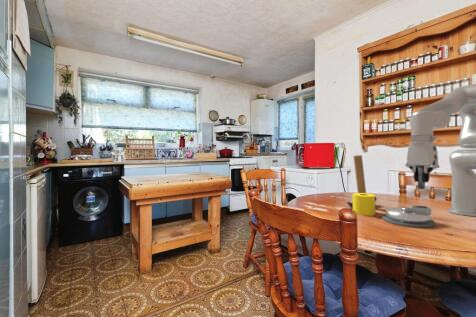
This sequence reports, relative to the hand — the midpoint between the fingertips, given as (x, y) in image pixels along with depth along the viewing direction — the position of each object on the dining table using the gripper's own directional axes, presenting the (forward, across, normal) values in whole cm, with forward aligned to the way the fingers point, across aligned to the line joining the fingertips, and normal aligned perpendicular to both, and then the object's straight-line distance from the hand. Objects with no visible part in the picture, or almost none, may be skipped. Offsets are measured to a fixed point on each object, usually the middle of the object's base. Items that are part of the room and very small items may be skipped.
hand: (421, 181), depth 101 cm
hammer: (+18, +31, -3) cm, 36 cm away
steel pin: (+3, 0, 0) cm, 3 cm away
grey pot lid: (+17, +4, +4) cm, 18 cm away
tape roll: (+18, +22, +8) cm, 30 cm away
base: (+18, +4, +4) cm, 19 cm away
